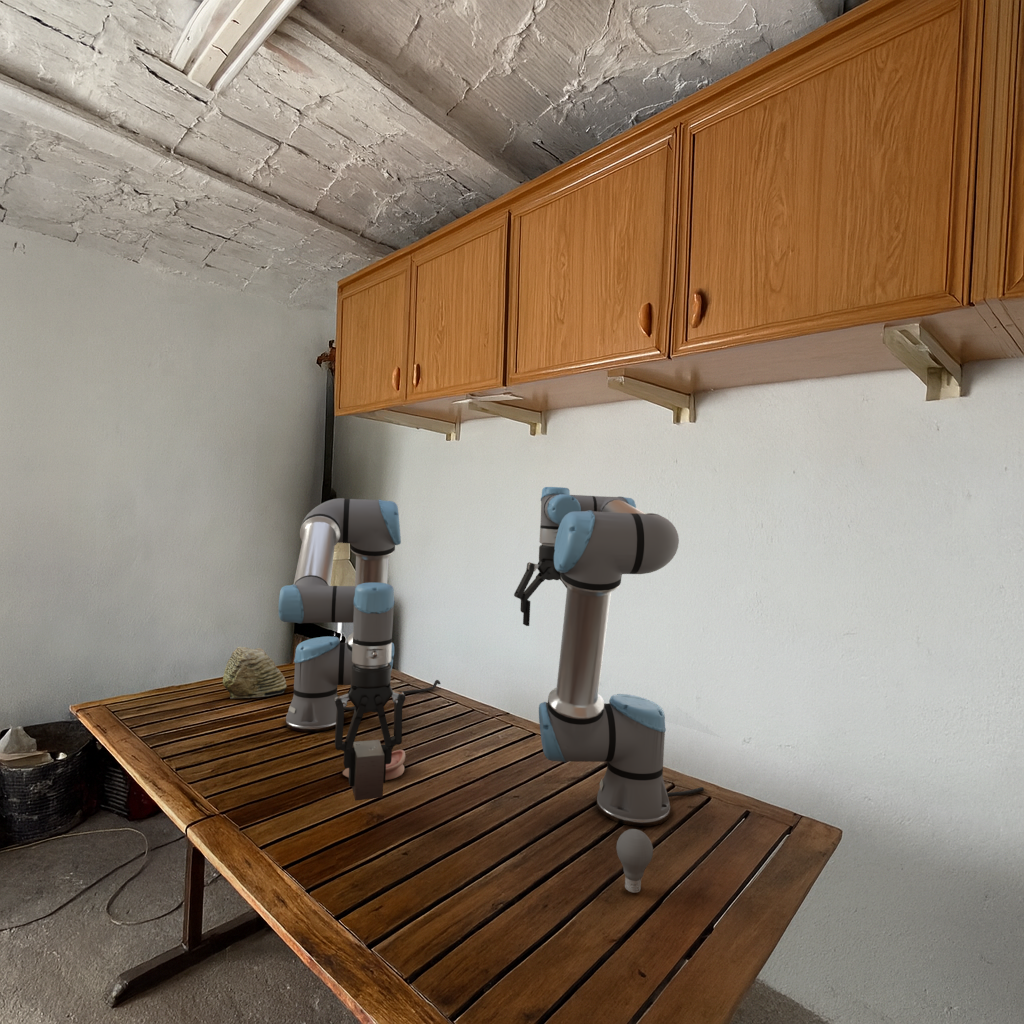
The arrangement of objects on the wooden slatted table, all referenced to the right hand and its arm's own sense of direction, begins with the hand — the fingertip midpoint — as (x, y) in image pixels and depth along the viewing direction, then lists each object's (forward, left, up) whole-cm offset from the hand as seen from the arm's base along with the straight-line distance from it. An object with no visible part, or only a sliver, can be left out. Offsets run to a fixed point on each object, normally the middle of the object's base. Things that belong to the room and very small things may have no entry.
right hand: (549, 624), depth 169 cm
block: (+46, +38, -25) cm, 64 cm away
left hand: (+46, +37, -23) cm, 64 cm away
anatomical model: (+44, +14, -32) cm, 57 cm away
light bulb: (+2, +65, -32) cm, 72 cm away
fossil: (+82, -46, -32) cm, 99 cm away
